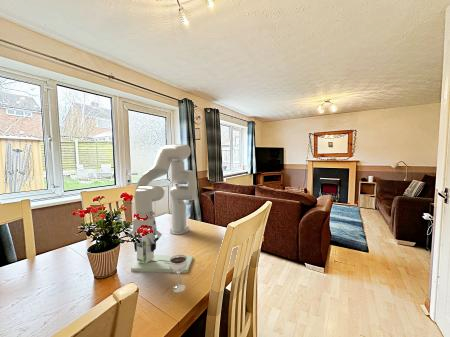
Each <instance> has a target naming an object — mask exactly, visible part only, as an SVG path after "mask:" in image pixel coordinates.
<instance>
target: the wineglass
mask: <svg viewBox="0 0 450 337" xmlns="http://www.w3.org/2000/svg"><path fill="white" fill-rule="evenodd" d="M174 255H175V254H174ZM186 256H187V255H185V254H176V255H175V256H173V257H171V258H170V269H171V270H172V271H173V272H172V273H173V274H177V284H175V285H174V286H173V287H172V291H173V292H174V293H182V292H183V291H184V290H186V285H185V284H183V283H180V281H181V280H180V279H181V278H180V276H181V272H183V271H184V270H185V269H186V267H187V257H186Z"/></svg>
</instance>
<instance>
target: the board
mask: <svg viewBox="0 0 450 337" xmlns="http://www.w3.org/2000/svg"><path fill="white" fill-rule="evenodd" d="M173 256H175V254H169V255H168V254H154V259H152V260H151V261H149V262H147V263H146V264H144V263H141V262H139V261H137V260H136V262H135V263H134V264H133V266H131V268H130V272H138V273H139V272H141V273H143V272H144V273H146V272H147V273H174V272H173V271H172V270H171V269H170V258H171V257H173ZM185 256H186V257H187V267H186V269H185V270H184V271H183V272H181V273H182V274H183V273H185V274H187V273H188V272H189V271H190V267H191V266H192V263H193V259H194V255H185ZM181 273H180V274H181Z"/></svg>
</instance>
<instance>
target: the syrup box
mask: <svg viewBox="0 0 450 337" xmlns="http://www.w3.org/2000/svg"><path fill="white" fill-rule="evenodd" d="M138 239H139V241H140V244H139V243H137V242H136V243H137V252H136V262H137V261H139V262H141V263H144V264H146V263H147V262H149V261H151V260H152V259H154V255H155V250H154V251H153V252H151V244H152V242H151V240H150V239H147V235H145V236H143V237H142V238H138Z"/></svg>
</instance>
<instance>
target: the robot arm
mask: <svg viewBox="0 0 450 337" xmlns="http://www.w3.org/2000/svg"><path fill="white" fill-rule="evenodd" d="M191 152H192V150H191V147H190V145H188V144H166V145H164V146H162V147H160V148H159V149H158V151H157V154H156V158H155V160H154V163H153V165H152V167H151V168H150V169H148V170H147V171H146V172H145V173H144V174H142V175H141V177H139V179H138V181H137V184H136V186H135V190H134V210H135V214H136V215H137V214H139V217H140V218H146V217H147V216H148V219H147V220H145V221H142V220H138V219H137V217H136V216H135V217H136V218H135V217H134V219H133V224H132V230H131V232H129V233H128V234H131V235H133V236H134V234H135V232H136V231H137V229H138V228H139V227H141V225H148V226H152V230H153V233H149V234H147V239H150V240H151V242H152V244H151V252H153V251H154V252H155V250H156V248H157V242H158V241H159V240H160V238H161V236H162V235H163V234H162V233H161V232H160V231H159V230H158V228H157V222H156V221H157V220H156V217H155V215H156V212H154V211H153V202H154V203H155V202H158V201H161V200H162V199H163V198H164V195H165V190H164V187H161V186H159V185H149V184H150V183H151V182H152V181H155V180H156V179H159V178H161V177H163V176H165V175H168V172H169V169H171V181H172V183H173V184H176V185H174V186H172V187H171V188H170V189H169V195H170V201H171V220H172V221H171V224H172V225H171V228H170V230H169V233H171V234H172V235H184V234H186V233H188V232H189V231H190V230H189V229H190V228H189V227H188V226H187V204H186V202H185V201H193V200H195V199H196V197H197V179H196V176H197V175H196V173H195V171H194V170H190V169H185V162H184V160H187V159H188V158H189V157H190V155H191ZM170 166H171V168H170ZM144 212H145V213H144ZM146 215H147V216H146ZM128 237H129V236H128ZM129 239H130V240H131V238H130V237H129ZM132 243H133V245H134V246H133V247H134V252H136V253H137V243H136V242H133V241H132Z"/></svg>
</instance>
